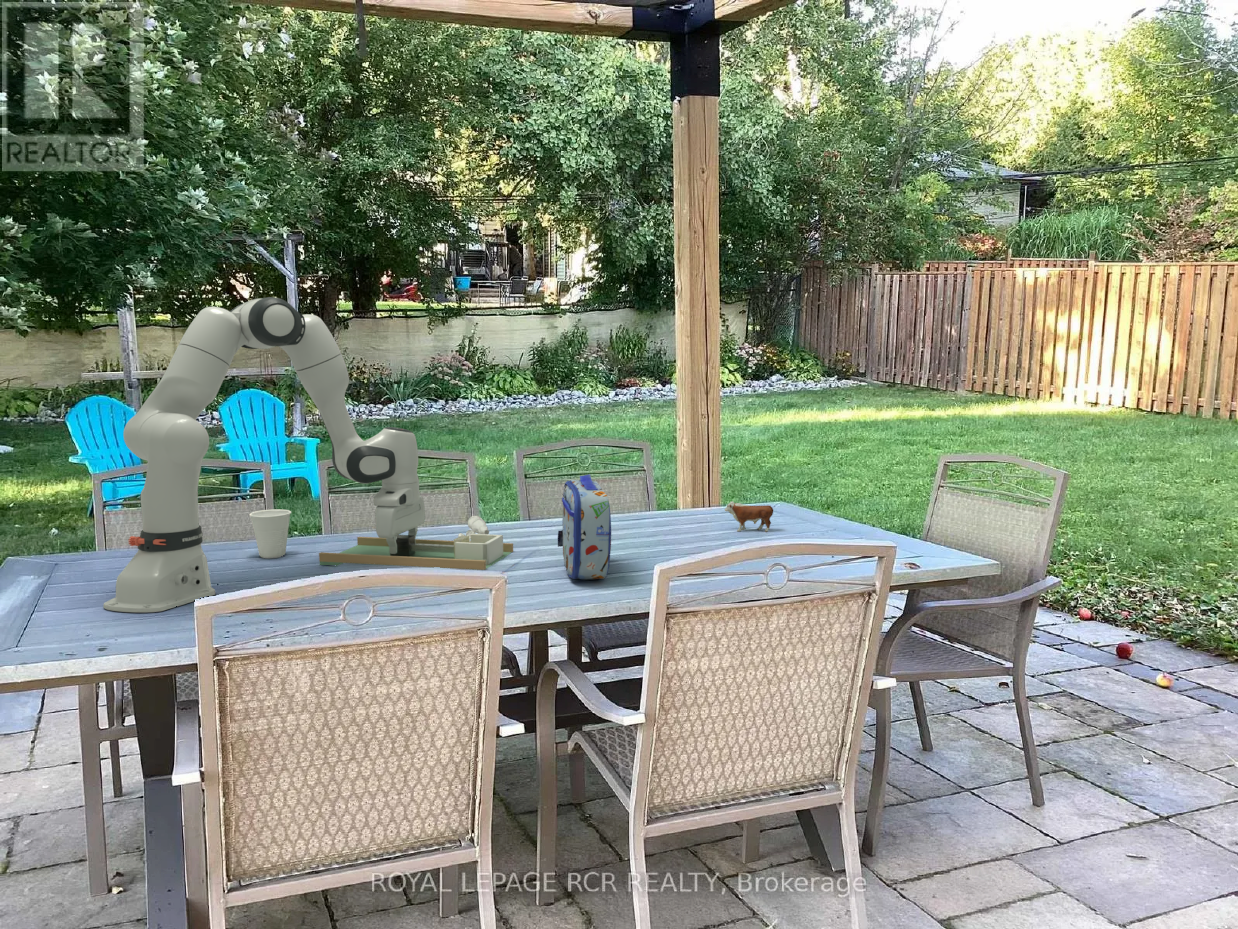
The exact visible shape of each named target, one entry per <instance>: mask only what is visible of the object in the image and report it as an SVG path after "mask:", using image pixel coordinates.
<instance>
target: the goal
mask: <svg viewBox="0 0 1238 929" xmlns="http://www.w3.org/2000/svg"><path fill="white" fill-rule="evenodd" d="M470 541H471V543H467V542H456V543H455V559H467V560H486V565H489V564H490V563H492V562H493V561H495V560H496V559H498V558H500V557H501V556H503V543H504V535H502V534H490V533H489V534H478V533H476V534H471V539H470Z"/></svg>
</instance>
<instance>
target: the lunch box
mask: <svg viewBox="0 0 1238 929" xmlns="http://www.w3.org/2000/svg"><path fill="white" fill-rule="evenodd" d="M561 496H562V498H561V502H562V507H563V508H562V523H561V524H562V529H560V530H558V532H557V547H558V548H559V547H562V555H563V556H562V558H563V563H564V568H565V571H566V573H567V576H568V577H569V578H570V579H572V580H575V579H576V580H601V579H602V580H604V579H605V578H606V577H607V575H608V572H609V569H610V562H611V561H610V560H611V551H612V518H611V506H610V502H609V497H608V495H607V493H606V492H605V490H603V488H602V487H601V486H600V484H599V483H598V481H597V480H592V477H591V474H585V475H580V476H579V480H578V479H577V480H576V479H570V480H567V481H565V483H564V486H563V492H561Z"/></svg>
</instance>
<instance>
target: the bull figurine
mask: <svg viewBox="0 0 1238 929" xmlns="http://www.w3.org/2000/svg"><path fill="white" fill-rule="evenodd" d="M724 511H725V512H728V513H729V514H731V515H732V517H733V518H734V520H736V522H738V523H739V527H738V529H737V530H736V532H737V533H738V532H739V533H740V532H741V531H744V530H746V522H752V523H753V524H754V525H755V524H757V522H758V521H760V520H761V522H760V525H759V526H758V527H757V528H756V530H757V531H760V530H762V529H763V527H764V525H765V526H766V528H765V529H764V532H765V533H769V531H770V527H771V524H772V522H771V520H770V519H771V517H772V516H773V515H774V508H773V507H772V506H771V505H769V504H768V505H748V504H743V503H741V502H738V503H737V502H734V501H730V502H729V503H728V504H727V506H725V508H724Z"/></svg>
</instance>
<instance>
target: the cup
mask: <svg viewBox="0 0 1238 929" xmlns="http://www.w3.org/2000/svg"><path fill="white" fill-rule="evenodd" d="M291 514H292V511H291V510H289V509H279V508H278V509H263V510H261V509H260V510H256V511H252V512H250V513H249V514H248V515H249V517H250V521H251V525H252V528H253V529H252V530H253V531H254V532H253V533H254V537H255V541H256V545H257V546H256V547H257V551H258V554H259V557H260V558H262V559H277V558H278V559H279V558H282V557H284V556H285V555H286V553H287V552H286V550H287V543H288V535H289V534H288V533H289V527H290V526H289V525H290V518H291ZM283 555H284V556H283ZM281 556H282V557H281Z"/></svg>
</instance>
